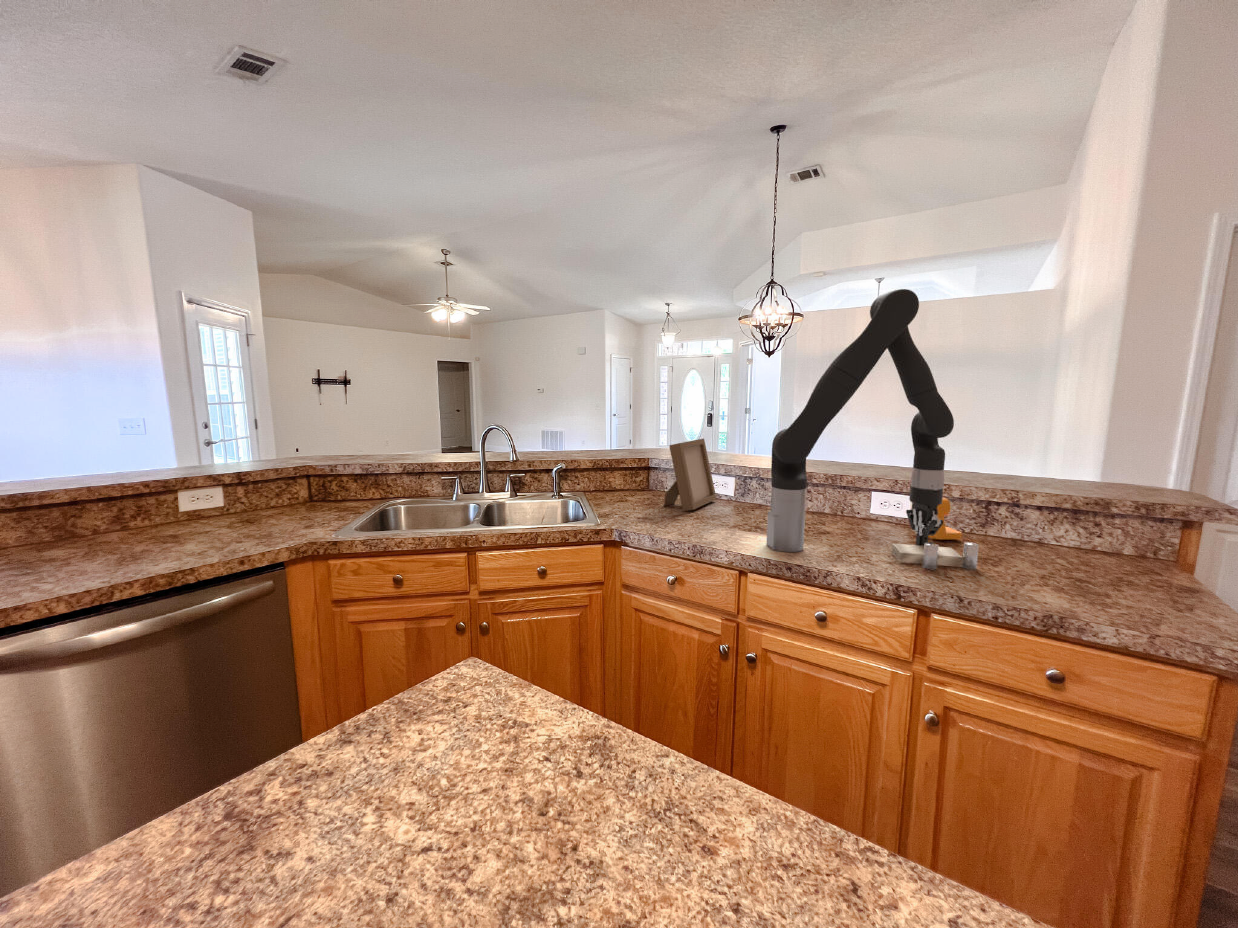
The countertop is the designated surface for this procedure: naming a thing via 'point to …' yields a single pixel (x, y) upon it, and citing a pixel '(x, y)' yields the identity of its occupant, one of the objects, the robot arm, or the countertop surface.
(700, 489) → the photo frame
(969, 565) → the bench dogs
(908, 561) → the cream curved panel
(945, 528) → the bracket
